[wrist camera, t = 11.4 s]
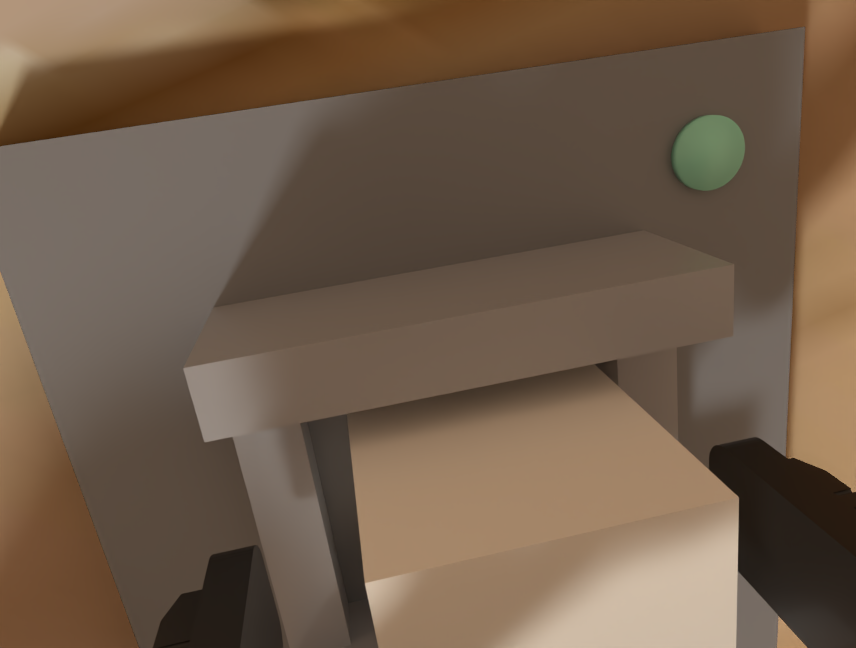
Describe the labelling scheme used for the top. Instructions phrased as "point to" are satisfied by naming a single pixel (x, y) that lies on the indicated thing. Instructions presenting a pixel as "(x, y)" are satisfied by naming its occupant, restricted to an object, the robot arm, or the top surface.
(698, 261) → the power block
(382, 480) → the charger block
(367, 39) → the top surface
